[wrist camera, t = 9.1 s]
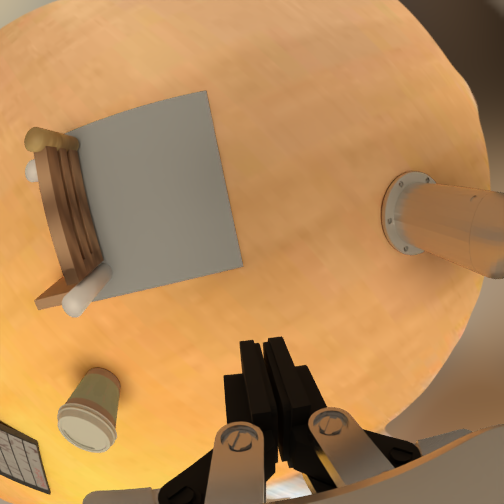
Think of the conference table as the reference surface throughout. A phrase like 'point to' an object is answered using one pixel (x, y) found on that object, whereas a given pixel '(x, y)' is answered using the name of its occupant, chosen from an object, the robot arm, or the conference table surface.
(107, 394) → the coffee cup
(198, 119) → the grey board
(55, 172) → the gate
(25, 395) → the conference table surface
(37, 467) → the shutter
